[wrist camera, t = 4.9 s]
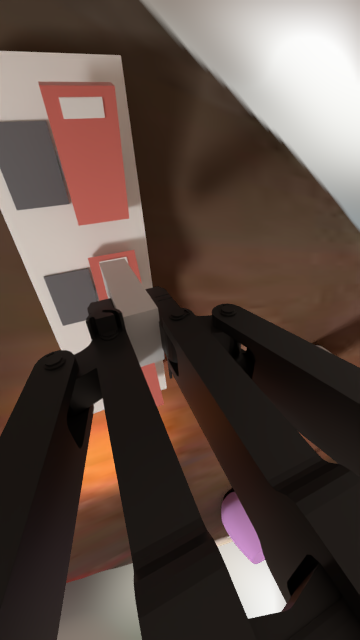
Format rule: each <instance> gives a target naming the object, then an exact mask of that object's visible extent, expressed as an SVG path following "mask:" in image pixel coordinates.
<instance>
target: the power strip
mask: <svg viewBox="0 0 360 640" xmlns="http://www.w3.org/2000/svg"><path fill="white" fill-rule="evenodd" d="M38 82H111V83H112V84H113V85H114V86H115V93H116V102H117V111H118V120H119V129H120V138H121V147H122V156H123V165H124V174H125V184H126V193H127V202H128V211H129V219H122V220H116V221H109V222H102V223H95V224H88V225H81V226H79V225H78V221H77V218H76V214H75V211H74V207H73V204H72V200H71V197H70V193H69V190H68V186H67V183H66V179H65V176H64V172H63V168H62V165H61V161H60V158H59V154H58V151H57V147H56V144H55V140H54V137H53V133H52V130H51V126H50V122H49V119H48V115H47V112H46V108H45V105H44V101H43V98H42V94H41V91H40V87H39V83H38ZM0 209H1V212H2V214H3V216H4V219H5V221H6V223H7V225H8V228H9V230H10V232H11V235H12V237H13V239H14V242H15V244H16V246H17V249H18V251H19V253H20V256H21V258H22V260H23V263H24V265H25V267H26V270H27V272H28V274H29V276H30V279H31V281H32V283H33V286H34V288H35V290H36V293H37V295H38V297H39V300H40V302H41V304H42V307H43V309H44V311H45V314H46V316H47V318H48V321H49V323H50V325H51V327H52V330H53V332H54V334H55V337H56V339H57V341H58V344H59V346H60V348H61V350H67V351H70V352H72V353H73V354H76V353H78V352H80V351H82V350H84V349H85V348H86V347H87V346H89V344H90V343H91V341H92V339H91V336H90V333H89V330H88V327H87V324H86V318H87V317H88V316H89V314H88V309H87V308H88V307H89V305H90V303H92V302H96V301H99V297H98V294H97V290H96V286H95V283H94V279H93V275H92V272H91V268H90V264H89V261H88V258H91V257H97V256H102V255H108V254H113V253H119V252H125V251H130V250H134V251H135V255H136V260H137V264H138V269H139V273H140V277H141V282H142V285H143V287H144V288H145V289H148V288H153V286H152V279H151V271H150V264H149V257H148V250H147V242H146V235H145V228H144V220H143V213H142V206H141V199H140V191H139V184H138V177H137V170H136V162H135V155H134V148H133V141H132V133H131V126H130V119H129V112H128V104H127V97H126V90H125V83H124V75H123V68H122V61H121V55H99V54H72V53H45V52H18V51H0ZM155 367H156V371H157V376H158V380H159V385H160V389H161V390H163V389H166V388H167V387H166V380H165V373H164V366H163V360H161V361H158V362H155ZM102 410H105V409H104V404H103V398H102V399H101V400H99V401H98V402H96V403H95V404H94V412H93V413H96V412H99V411H102Z"/></svg>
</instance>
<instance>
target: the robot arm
mask: <svg viewBox="0 0 360 640" xmlns="http://www.w3.org/2000/svg"><path fill="white" fill-rule="evenodd" d="M99 265H100V269H101V273H102V277H103V281H104V285H105V289H106V292H107V296H108V299H105V300H100V301H96V302H92V303H90V305H89V307H88V308H87V309H88V314H89V316H88V317H87V318H86V324H87V327H88V330H89V333H90V336H91V339H92V341H91V343H90V344H89V346H87V347H86V348H85V349H84V350H82V351H80V352H78V353H76V354H73V353H72V352H70V351H67V350H59V351H55V352H51V353H49V354H47V355H45V356H44V357H42V358H41V359H40V360H38V362H37V363H36V364H35V366H34V368H33V370H32V372H31V374H30V376H29V378H28V380H27V382H26V384H25V386H24V388H23V390H22V393H21V395H20V397H19V399H18V401H17V403H16V405H15V407H14V409H13V411H12V413H11V415H10V418H9V420H8V422H7V424H6V426H5V428H4V430H3V432H2V434H1V436H0V640H57V635H58V628H59V622H60V616H61V610H62V604H63V598H64V592H65V585H66V579H67V573H68V567H69V561H70V554H71V548H72V542H73V536H74V530H75V523H76V517H77V511H78V505H79V499H80V492H81V486H82V480H83V474H84V468H85V461H86V455H87V449H88V443H89V437H90V430H91V424H92V418H93V412H94V404H95V403H96V402H98V401H99V400H101V399H102V398H103V404H104V409H105V415H106V420H107V425H108V431H109V436H110V442H111V447H112V452H113V458H114V463H115V469H116V474H117V479H118V485H119V490H120V496H121V501H122V506H123V512H124V517H125V523H126V528H127V533H128V539H129V544H130V550H131V555H132V561H133V568H134V590H135V599H136V605H137V612H138V618H139V624H140V630H141V636H142V640H360V368H359V367H357V366H355V365H353V364H351V363H349V362H347V361H345V360H343V359H341V358H339V357H337V356H335V355H333V354H331V353H329V352H328V351H326V350H324V349H322V348H320V347H318V346H316V345H314V344H312V343H310V342H308V341H306V340H304V339H302V338H300V337H298V336H296V335H294V334H292V333H290V332H288V331H286V330H284V329H282V328H280V327H278V326H276V325H275V324H273V323H271V322H269V321H267V320H265V319H263V318H261V317H259V316H257V315H255V314H253V313H251V312H249V311H247V310H245V309H243V308H241V307H239V306H236V305H233V304H221V305H218V306H216V307H215V308H213V310H212V315H210V316H195V315H194V313H193V312H192V311H190V310H189V309H185V308H180V307H179V305H178V304H177V303H176V302H175V301H174V299H173V298H172V297H171V296H170V295H169V293H168V292H167V291H166V290H165V289H163V288H161V287H159V286H157V287H153V288H148V289H145V288H144V287H143V285H142V284H141V282H140V281H139V279H138V278H137V276H136V275H135V273H134V272H133V270H132V269H131V267H130V266H129V265H128V263H127V262H126V260H125V259H124V258H123V259H118V260H112V261H107V262H102V263H99ZM241 344H242V345H244V346H245V347H247V350H246V351H244V350H243V349H241ZM164 352H165V354H166V356H167V361H168V369H169V376H170V379H171V378H172V374H173V376H174V378H175V380H176V382H177V383H178V385H179V387H180V389H181V391H182V393H183V395H184V397H185V399H186V400H187V402H188V404H189V406H190V408H191V410H192V412H193V414H194V416H195V417H196V419H197V421H198V423H199V425H200V427H201V429H202V431H203V433H204V434H205V436H206V438H207V440H208V442H209V444H210V446H211V448H212V450H213V452H214V453H215V455H216V457H217V459H218V461H219V463H220V465H221V467H222V469H223V470H224V472H225V474H226V476H227V478H228V480H229V482H230V484H231V486H232V487H233V489H234V491H235V493H236V495H237V497H238V499H239V501H240V503H241V504H242V506H243V508H244V510H245V512H246V514H247V516H248V518H249V520H250V521H251V523H252V525H253V527H254V529H255V531H256V533H257V535H258V538H259V541H260V544H261V548H262V552H263V555H264V557H265V560H266V562H267V565H268V567H269V569H270V571H271V573H272V575H273V577H274V579H275V581H276V583H277V585H278V587H279V589H280V591H281V593H282V595H283V597H284V599H285V601H286V603H287V604H286V606H285V607H284V609H283V610H282V612H279V613H274V614H269V615H265V616H260V617H255V618H251V619H248V618H247V616H246V613H245V611H244V608H243V606H242V604H241V601H240V599H239V597H238V594H237V592H236V589H235V587H234V584H233V582H232V580H231V577H230V575H229V572H228V570H227V567H226V565H225V563H224V561H223V558H222V556H221V554H220V552H219V549H218V547H217V545H216V543H215V541H214V539H213V538H212V536H211V535H210V534H209V532H208V531H207V529H206V527H205V525H204V523H203V521H202V518H201V516H200V513H199V511H198V508H197V506H196V503H195V501H194V498H193V496H192V493H191V491H190V488H189V486H188V483H187V481H186V478H185V476H184V473H183V471H182V468H181V466H180V463H179V461H178V458H177V456H176V454H175V451H174V449H173V446H172V444H171V441H170V439H169V436H168V434H167V431H166V429H165V426H164V424H163V421H162V419H161V416H160V414H159V411H158V409H157V406H156V404H155V401H154V399H153V396H152V394H151V391H150V389H149V386H148V384H147V381H146V379H145V376H144V374H143V371H142V369H141V367H142V366H145V365H148V364H152V363H155V362H158V361H161V360H164V359H165V358H164ZM298 432H300V433H301V434H302V435H303V436H305V437H306V438H307V439H308V440H310V441H311V442H312V443H313V444H315V445H316V446H317V447H318V448H320V449H321V450H322V451H323V452H325V453H326V454H327V455H328V456H330V457H331V458H332V459H333V460H335V461H336V462H337V463H338V464H334V463H328V462H327V461H325V460H323V459H322V458H321V457H320V456H319V455H318V454H317V453H316V452H315V451H314V450H313V448H312V447H311V446H310V445H309V444H308V443H307V442H306V440H305V439H304V438H303V437H302V436H301V435H300V434H299V433H298Z"/></svg>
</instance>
